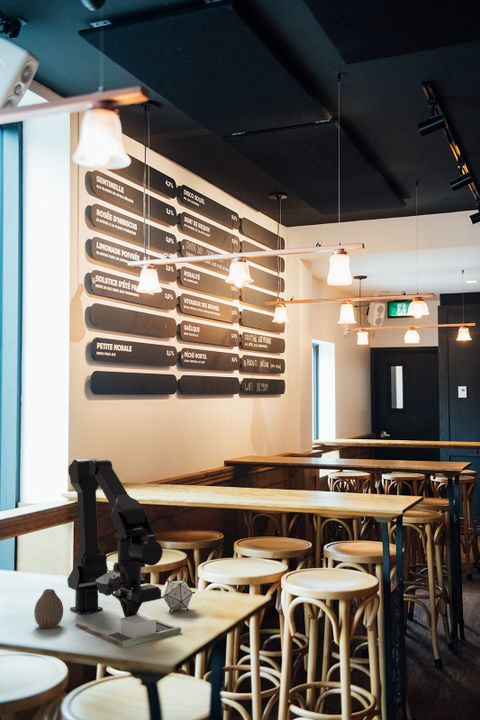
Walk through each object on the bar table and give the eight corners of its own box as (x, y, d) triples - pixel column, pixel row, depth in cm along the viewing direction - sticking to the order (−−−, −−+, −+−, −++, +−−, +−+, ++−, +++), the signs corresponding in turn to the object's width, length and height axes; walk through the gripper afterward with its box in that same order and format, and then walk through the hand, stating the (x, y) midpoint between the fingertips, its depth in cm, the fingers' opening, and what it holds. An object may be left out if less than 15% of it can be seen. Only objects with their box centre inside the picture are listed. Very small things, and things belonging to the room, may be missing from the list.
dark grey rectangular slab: (106, 637, 179) (106, 635, 179) (155, 625, 188) (155, 623, 188) (120, 643, 175) (120, 641, 175) (170, 630, 184) (170, 628, 184)
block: (120, 635, 181) (120, 618, 181) (141, 630, 185) (141, 613, 185) (134, 641, 177) (134, 624, 177) (155, 636, 180) (155, 619, 181)
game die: (182, 626, 200) (188, 601, 194) (153, 612, 202) (158, 587, 196) (196, 601, 207) (202, 577, 202) (167, 589, 209) (173, 564, 204)
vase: (38, 621, 191) (39, 586, 192) (66, 622, 191) (66, 586, 192) (30, 630, 184) (30, 593, 185) (58, 630, 184) (59, 593, 185)
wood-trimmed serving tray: (75, 626, 188) (75, 621, 188) (131, 613, 198) (131, 608, 198) (123, 647, 172) (123, 642, 172) (180, 632, 182) (180, 627, 183)
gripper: (80, 557, 187) (80, 621, 186) (122, 570, 173) (122, 640, 172) (119, 550, 194) (119, 613, 194) (162, 562, 180) (162, 630, 180)
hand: (129, 623), depth 185 cm, fingers closed
